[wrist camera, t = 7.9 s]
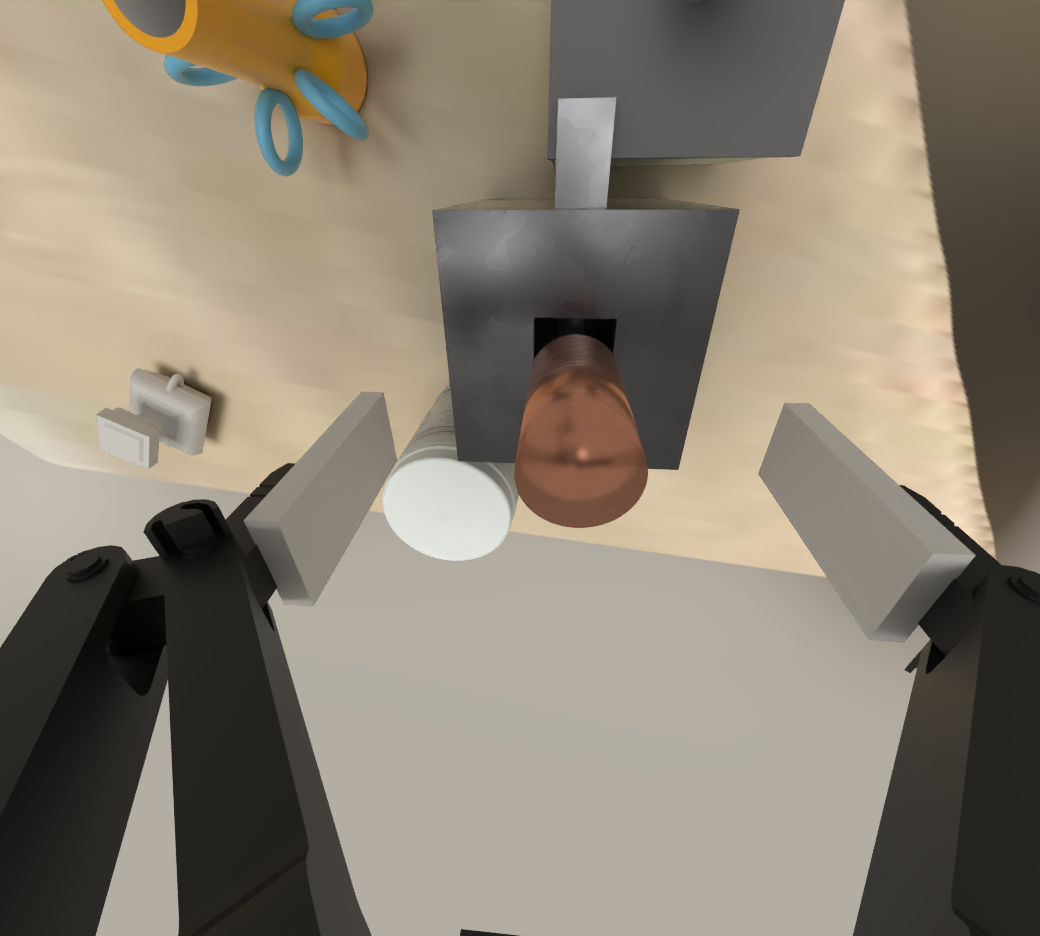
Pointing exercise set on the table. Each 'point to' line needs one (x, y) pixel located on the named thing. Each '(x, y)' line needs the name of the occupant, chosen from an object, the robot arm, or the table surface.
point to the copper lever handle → (578, 435)
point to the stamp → (155, 419)
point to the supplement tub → (448, 493)
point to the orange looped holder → (263, 57)
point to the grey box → (579, 292)
